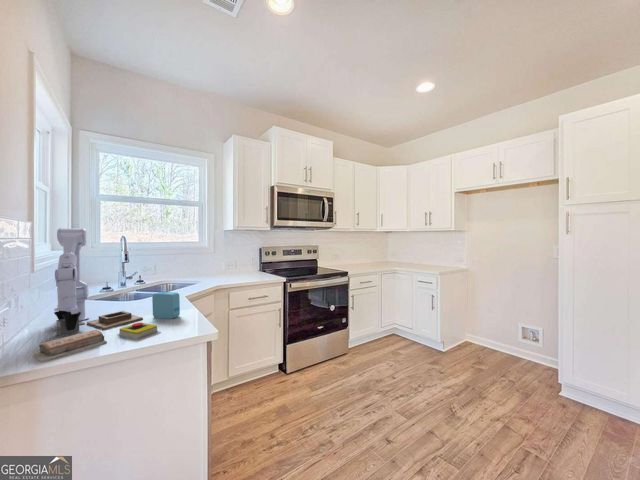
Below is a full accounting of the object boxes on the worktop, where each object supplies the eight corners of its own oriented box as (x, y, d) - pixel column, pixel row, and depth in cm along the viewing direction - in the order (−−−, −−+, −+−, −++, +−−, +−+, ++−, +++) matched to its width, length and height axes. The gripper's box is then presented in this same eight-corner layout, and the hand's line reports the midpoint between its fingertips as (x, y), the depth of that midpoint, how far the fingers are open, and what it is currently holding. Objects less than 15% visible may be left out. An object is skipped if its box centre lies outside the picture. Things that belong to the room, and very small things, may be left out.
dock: (86, 324, 127) (86, 316, 127) (125, 314, 141) (125, 308, 141) (103, 330, 119) (103, 322, 119) (142, 319, 133) (142, 312, 133)
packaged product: (95, 327, 110) (106, 331, 105) (95, 339, 110) (107, 344, 105) (31, 342, 95) (41, 349, 90) (32, 356, 95) (41, 363, 90)
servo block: (50, 336, 112) (49, 319, 112) (80, 328, 121) (80, 313, 121) (54, 338, 111) (53, 321, 110) (85, 330, 119) (84, 314, 119)
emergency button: (138, 318, 122) (161, 323, 116) (138, 328, 122) (162, 333, 116) (115, 325, 113) (139, 330, 107) (115, 336, 113) (140, 341, 108)
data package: (180, 316, 138) (179, 292, 138) (173, 319, 134) (172, 294, 133) (159, 315, 141) (159, 291, 140) (152, 317, 136) (151, 293, 136)
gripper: (47, 296, 115) (48, 328, 116) (61, 300, 108) (62, 334, 109) (68, 293, 122) (69, 323, 122) (83, 296, 114) (84, 329, 115)
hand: (68, 328), depth 116 cm, fingers open, 6 cm apart
